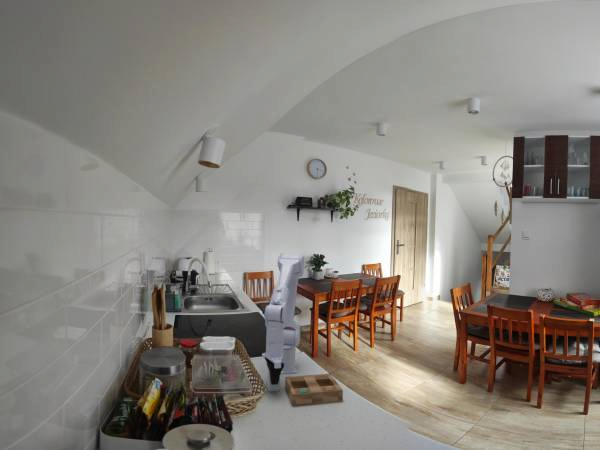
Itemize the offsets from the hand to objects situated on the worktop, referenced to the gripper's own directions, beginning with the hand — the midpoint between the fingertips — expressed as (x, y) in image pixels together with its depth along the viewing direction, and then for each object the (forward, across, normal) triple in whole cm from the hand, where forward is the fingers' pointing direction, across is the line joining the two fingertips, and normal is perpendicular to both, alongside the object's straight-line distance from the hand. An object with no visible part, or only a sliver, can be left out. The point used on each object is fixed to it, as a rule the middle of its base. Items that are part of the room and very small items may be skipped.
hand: (273, 381), depth 108 cm
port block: (+2, +6, +12) cm, 14 cm away
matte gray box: (+2, 0, 0) cm, 2 cm away
